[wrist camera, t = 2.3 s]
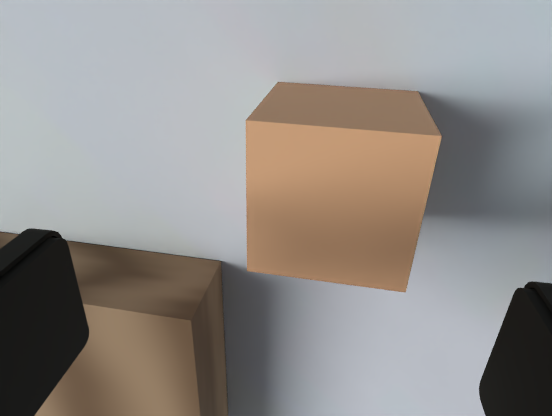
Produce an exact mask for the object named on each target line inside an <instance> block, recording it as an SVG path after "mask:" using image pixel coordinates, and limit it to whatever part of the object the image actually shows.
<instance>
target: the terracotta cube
mask: <svg viewBox="0 0 552 416" xmlns="http://www.w3.org/2000/svg"><path fill="white" fill-rule="evenodd" d="M441 137H442V136H441V134H440V132H439V130H438V128H437V126H436V124H435V123H434V121H433V119H432V117H431V115H430V113H429V111H428V109H427V108H426V106H425V104H424V102H423V100H422V98H421V96H420V94H419V93H418V91H405V90H390V89H375V88H360V87H345V86H330V85H315V84H300V83H285V82H278V83H277V84H276V85H275V86H274V87H273V89H272V90H271V91H270V92H269V93H268V94H267V96H266V97H265V98H264V99H263V100H262V102H261V103H260V104H259V105H258V106H257V108H256V109H255V110H254V111H253V112H252V114H251V115H250V116H249V117H248V118H247V119H246V199H247V271H251V272H258V273H266V274H273V275H281V276H288V277H295V278H303V279H310V280H318V281H325V282H333V283H340V284H347V285H355V286H362V287H370V288H377V289H384V290H392V291H399V292H406V288H407V284H408V280H409V275H410V271H411V267H412V262H413V258H414V254H415V250H416V245H417V241H418V237H419V232H420V228H421V224H422V219H423V215H424V211H425V206H426V202H427V198H428V193H429V189H430V185H431V180H432V176H433V172H434V168H435V163H436V159H437V155H438V150H439V146H440V142H441Z"/></svg>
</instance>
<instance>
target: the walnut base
mask: <svg viewBox="0 0 552 416" xmlns="http://www.w3.org/2000/svg"><path fill="white" fill-rule="evenodd" d="M18 235H19V234H11V233H4V232H0V249H1V248H2V247H3V246H5V245H6V244H7V243H9V242H10V241H11V240H13V239H14V238H15V237H17V236H18ZM67 243H68V246H69V250H70V254H71V258H72V262H73V266H74V270H75V274H76V278H77V282H78V286H79V290H80V294H81V298H82V302H83V306H84V311H85V315H86V319H87V323H88V327H89V338H88V341H87V343H86V345H85V347H84V348H83V350H82V351H81V352H80V354H79V355H78V357H77V358H76V359H75V361H74V362H73V363H72V365H71V366H70V368H69V369H68V370H67V372H66V373H65V374H64V376H63V377H62V379H61V380H60V381H59V383H58V384H57V385H56V387H55V388H54V390H53V391H52V392H51V394H50V395H49V396H48V398H47V399H46V400H45V402H44V403H43V405H42V406H41V407H40V409H39V410H38V411H37V413H36V414H35V416H228V402H227V380H226V359H225V337H224V316H223V294H222V273H221V261H215V260H207V259H200V258H192V257H185V256H177V255H170V254H162V253H155V252H147V251H140V250H132V249H124V248H117V247H109V246H102V245H94V244H87V243H79V242H72V241H67Z"/></svg>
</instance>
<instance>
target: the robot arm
mask: <svg viewBox="0 0 552 416" xmlns="http://www.w3.org/2000/svg"><path fill="white" fill-rule="evenodd" d="M88 338H89V327H88V323H87V319H86V315H85V311H84V306H83V302H82V298H81V294H80V290H79V286H78V282H77V278H76V274H75V270H74V266H73V262H72V258H71V254H70V250H69V246H68V243H67V241H66V240H65V239H63V238H62V237H61V235H60V234H59V233H58V232H56V231H51V230H41V229H27V230H25V231H23V232H22V233H21V234H19V235H18V236H17V237H15V238H14V239H13V240H11V241H10V242H9V243H7V244H6V245H5V246H3V247H2V248H1V249H0V416H35V414H36V413H37V411H38V410H39V409H40V407H41V406H42V405H43V403H44V402H45V400H46V399H47V398H48V396H49V395H50V394H51V392H52V391H53V390H54V388H55V387H56V385H57V384H58V383H59V381H60V380H61V379H62V377H63V376H64V374H65V373H66V372H67V370H68V369H69V368H70V366H71V365H72V363H73V362H74V361H75V359H76V358H77V357H78V355H79V354H80V352H81V351H82V350H83V348H84V347H85V345H86V343H87V341H88ZM479 394H480V400H481V403H482V406H483V409H484V412H485V415H486V416H552V284H551V283H542V282H528V283H527V284H526V285H525V287H524V288H518V289H517V290H516V291H515V292H514V295H513V297H512V300H511V302H510V305H509V308H508V310H507V313H506V315H505V318H504V321H503V323H502V326H501V329H500V331H499V334H498V336H497V339H496V342H495V344H494V347H493V349H492V352H491V355H490V357H489V360H488V363H487V365H486V368H485V370H484V373H483V376H482V378H481V381H480V386H479Z"/></svg>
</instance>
